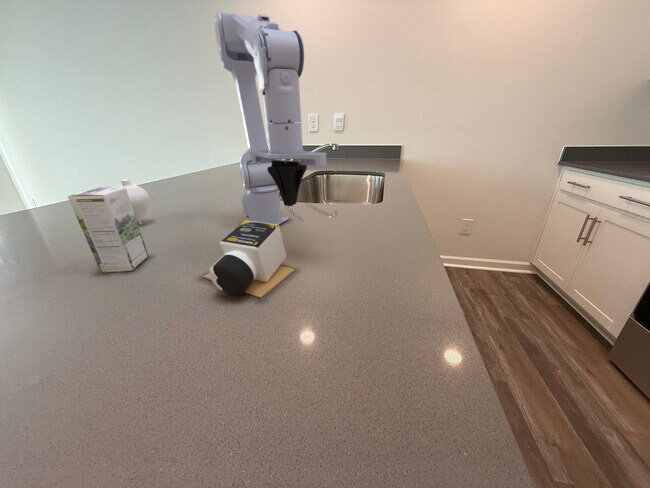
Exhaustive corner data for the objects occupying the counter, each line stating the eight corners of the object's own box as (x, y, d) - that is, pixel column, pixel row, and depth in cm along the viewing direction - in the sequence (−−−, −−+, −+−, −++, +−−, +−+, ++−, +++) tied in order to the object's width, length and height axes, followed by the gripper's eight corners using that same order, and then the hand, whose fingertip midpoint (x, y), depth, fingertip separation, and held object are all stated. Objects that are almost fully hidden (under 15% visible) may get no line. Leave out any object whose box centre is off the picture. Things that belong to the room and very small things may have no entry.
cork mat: (203, 277, 45) (203, 276, 45) (241, 255, 52) (241, 254, 52) (261, 298, 39) (260, 297, 39) (294, 270, 46) (294, 269, 46)
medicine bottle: (279, 223, 43) (236, 270, 34) (287, 256, 47) (250, 305, 39) (244, 219, 46) (195, 261, 37) (254, 251, 50) (213, 296, 41)
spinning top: (163, 219, 73) (150, 176, 68) (143, 230, 66) (127, 183, 61) (138, 219, 74) (123, 176, 68) (116, 229, 67) (97, 183, 62)
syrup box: (120, 258, 52) (90, 187, 46) (150, 256, 52) (125, 185, 46) (100, 273, 47) (64, 195, 41) (134, 271, 47) (103, 193, 41)
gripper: (232, 124, 42) (245, 205, 48) (308, 122, 35) (312, 216, 41) (262, 123, 47) (270, 196, 53) (332, 122, 41) (332, 204, 47)
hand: (290, 204), depth 48 cm, fingers closed
